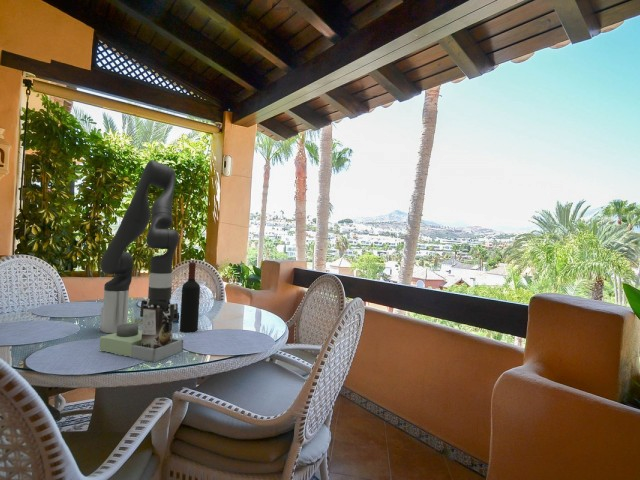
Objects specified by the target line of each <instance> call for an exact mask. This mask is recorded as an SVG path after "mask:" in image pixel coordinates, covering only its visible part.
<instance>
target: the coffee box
mask: <svg viewBox="0 0 640 480" xmlns="http://www.w3.org/2000/svg"><path fill="white" fill-rule="evenodd" d="M163 312H164V313H165V314H167V313H168V310H167V311H164V309H158V308H150V307H149V308H145V309H143V317H142V325H141V330H142V339H141V346H142V347H147V348H153V349H156V348H159V347H162V346H165V345H167V344H170V343H172V338H173V327H174V321H173V322H172V330H171V332H170V333H165V323H166V321H165V319H164V318H163ZM168 319H169V318H168Z"/></svg>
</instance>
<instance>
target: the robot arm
mask: <svg viewBox="0 0 640 480" xmlns="http://www.w3.org/2000/svg"><path fill="white" fill-rule="evenodd" d="M175 185H176V171H175V169H174V168H173V167H171V166H169V165H166V164H163V163H161V162H159V161H156V160H149V161H148V163H146V165H145V166H144V168H143V171H142V174H141V177H140V180H139V182H138V184H137V187H136V189H135V193H134V195H133V197H132V199H131V201H130V204H128V207H127V209H126V211H125V213H124V215H123V218H122V220H121V222H120V224H119V227H118V229H117V230H116V232H115V234H114V236H113V238H112V240H111V241H110V244H109V245H108V246H107V248H106V250H105V251H104V253H103V255H102V257H101V261H100V270H101V271H102V273H104V274H106V275H114V276H113V278H111V279H110V280H109V281H106V282H105V284H104V285H103V287H104V288H103V305H102V306H103V307H101V310H100V326H99V328H100V329H99V330H100V331H101V332H102V333H107V334H113V333H117V326H119V325H122V324H128V315H129V296H130V285H132V280H133V270H134V258H133V256H132V254H131V253H130V252H128V251H126V249H127V248H128V247H129V246H130V245H131V244H133V243H134V241H135V240H137V239H138V238H140V237H141V235H142V234H144V232H145V231H146V229H147V226H148V224H149V222H150V220H151V224H150V227H149V229H148V231H147V235H146V238H145V239H146V245H147V246H148V247H149V249H150V248H151V249H154V250H156V249H157V250H158V249H159V250H166V252H165V253H164V254H159V255H154V256H152V257H151V258H150V272H149V278H148V290H147V291H148V294H147V295H148V296H147V297H148V298H147V299H143V300H141V302H140V303H141V304H140V313H139V317H140V318H143V309H145V308H149V307H150V308H158V309H164V311H167V310H168V313H167V314H165V313H164V312H163V318H164V319H165V321H166V323H165V333H170V332H171V330H172V331H173V329H172V322H173V323H174V322H175V321H178V318H179V313H178V310H179V308H178V307H179V306H178V303H171V299H172V292H173V291H172V288H173V287H172V286H173V263H174V262H173V260H174V257H175V252H176V249H177V247H178V245H179V241H180V235H179V232H178V231H177V230H175V229H171V227H172V226H173V209H172V208H173V199H174V192H175ZM150 186H154V187H157V188H160V189H162V190H163V192H162V194H160V196H158V198H157V199H156V200H154V202H153V204H152V206H151V207H150V204H149V198H148V191H149V188H150ZM168 318H169V319H168Z"/></svg>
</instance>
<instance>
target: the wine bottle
mask: <svg viewBox="0 0 640 480" xmlns="http://www.w3.org/2000/svg"><path fill="white" fill-rule="evenodd" d="M196 266H197V263H196V262H194V261H193V262H192V261H191V262H188V277H187V281H186V282H184V283H183V284H182V286H181V297H180V298H181V301H180V316H179V318H180V319H179V331H180V332H181V333H186V334H188V333H189V334H190V332H191V333H196V332H198V331H197V330H198V329H199V313H200V297H201V296H200V295H201V286H200V284H199V283H198V282H197V281H196ZM195 331H196V332H195Z"/></svg>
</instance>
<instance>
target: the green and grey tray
mask: <svg viewBox="0 0 640 480" xmlns="http://www.w3.org/2000/svg"><path fill="white" fill-rule="evenodd" d="M139 326H140V325H139V324H135V323H127V324H122V325H119V326H117V333H108V334H106V335H102V336H100V337H99V351H100V350H101V351H100V352H102V351H106V352H105V353H107V352H111V353H116V354H120V355H119V356H121V355H124V356H123V357H126V356H130V357H129V358H131V357H133V358H132V359H136V358H138V359H137V360H143V361H146V362H151V363H156V362H159V361H161V360H164V359H166V358H168V357H169V358H170V357H171V356H174V355H175V354H176V355H177V354H178V353H180V352H184V339H180V338H175V337H174V338H173V337H172V343H170V344H167V345H165V346H162V347H159V348H156V349H153V348H147V347H142V346H141V339H142V329H139ZM111 353H110V354H111ZM116 354H115V355H116Z"/></svg>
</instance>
